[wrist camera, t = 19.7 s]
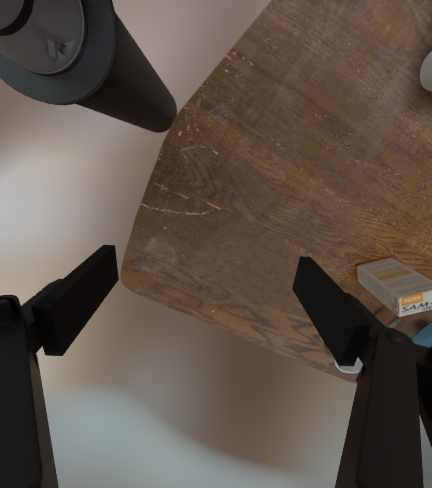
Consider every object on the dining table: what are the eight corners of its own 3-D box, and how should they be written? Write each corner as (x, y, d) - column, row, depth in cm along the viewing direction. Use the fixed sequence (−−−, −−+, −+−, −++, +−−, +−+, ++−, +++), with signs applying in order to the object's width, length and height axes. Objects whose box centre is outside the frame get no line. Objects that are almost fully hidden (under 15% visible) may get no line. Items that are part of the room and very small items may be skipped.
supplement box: (355, 281, 54) (397, 318, 42) (355, 264, 52) (398, 298, 40) (390, 273, 53) (443, 308, 41) (391, 255, 51) (446, 287, 39)
